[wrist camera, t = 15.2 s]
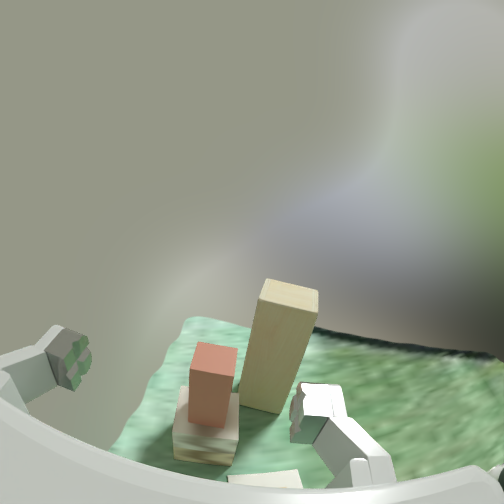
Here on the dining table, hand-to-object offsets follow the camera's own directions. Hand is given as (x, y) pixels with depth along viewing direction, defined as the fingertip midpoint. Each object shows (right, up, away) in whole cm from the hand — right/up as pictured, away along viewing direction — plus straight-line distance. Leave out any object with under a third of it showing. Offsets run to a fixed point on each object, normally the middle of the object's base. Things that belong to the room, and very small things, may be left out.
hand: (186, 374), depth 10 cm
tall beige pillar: (+4, -20, +38) cm, 43 cm away
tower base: (-5, -23, +27) cm, 36 cm away
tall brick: (-3, -16, +24) cm, 29 cm away
